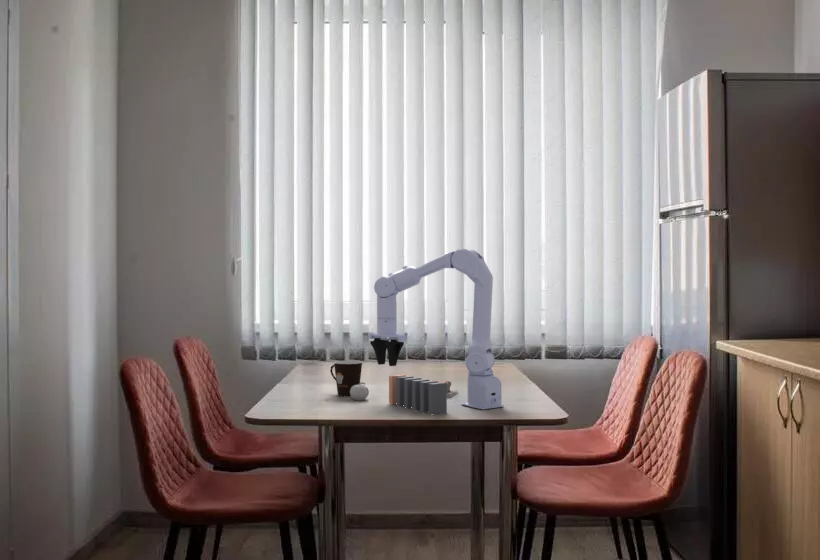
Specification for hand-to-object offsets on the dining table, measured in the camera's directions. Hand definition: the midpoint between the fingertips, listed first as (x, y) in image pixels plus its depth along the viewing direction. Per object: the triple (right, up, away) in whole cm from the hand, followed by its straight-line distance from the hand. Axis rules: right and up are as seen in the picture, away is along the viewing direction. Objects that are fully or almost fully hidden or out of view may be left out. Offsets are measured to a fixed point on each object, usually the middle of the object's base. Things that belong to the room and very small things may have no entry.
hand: (387, 365), depth 215 cm
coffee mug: (-13, -11, +12) cm, 21 cm away
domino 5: (+12, -11, -17) cm, 23 cm away
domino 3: (+7, -11, -11) cm, 17 cm away
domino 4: (+10, -11, -14) cm, 20 cm away
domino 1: (+3, -10, -5) cm, 12 cm away
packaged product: (+12, -11, +13) cm, 20 cm away
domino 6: (+14, -11, -20) cm, 27 cm away
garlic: (-8, -11, +2) cm, 14 cm away
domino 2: (+5, -10, -8) cm, 14 cm away
